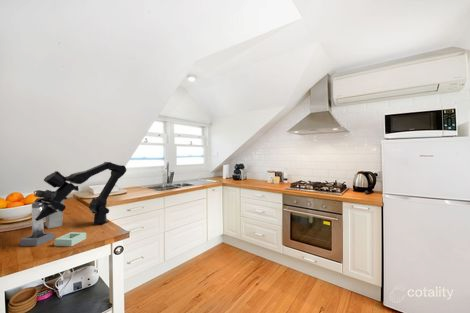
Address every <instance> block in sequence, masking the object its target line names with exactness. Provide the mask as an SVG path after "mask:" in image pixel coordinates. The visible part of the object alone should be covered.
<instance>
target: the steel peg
mask: <svg viewBox="0 0 470 313" xmlns="http://www.w3.org/2000/svg"><path fill="white" fill-rule="evenodd" d="M43 209H44V204H43V202H32V203H31V217H32V219H31V235H32V237H39V236H42V235H44V232H45V230H44V229H45V228H44V227H45V226H44V225H45V223H44V221H45V218H43V219H40V220H38V221H36V220H35V219H36V218H37V217H38V215H39V214H40V213H41V212H42V211H43Z"/></svg>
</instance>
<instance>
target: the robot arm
mask: <svg viewBox="0 0 470 313" xmlns="http://www.w3.org/2000/svg"><path fill="white" fill-rule="evenodd" d="M107 170H109V171H110V177H109V178H108V180H107V182H106V184H105V185H104V187H103V188H102V190H101V192H100V194H99V195H98V196H97V197H96V198H95V197H93V198H92V199H91V201H90V203H89V206H88V209H89V210H90V212H91V213H92V214H94V216H93V223H91V225H93V226H102V225H105V224H107V223H108V222H109V220H107V214H109V213H110V209H109V208H107V207H106V206H107V201H108V197H109V196H110V194H111V192H112V191H113V190H114V188H115V186H116V185H117V182H118V180H119V179H121V178H122V177H123V176H124V175H125V174H126V172H127V167H126V166H125V165H122V164H116V163H113V162H111V161H104V162H103V163H101V164H98V165H95V166H94V167H91V168H89V169H86V170H84V171H78V172H74V173H71V174H69V176H68V175H66V176H64V175H63V174H61V173H60V171H58V170H56V171H54V172H52V173H50V174H48V175H47V176H45V177H44V179H43V182H45V183H46V184H48V186H51V187H52V188H57V189H56V190H51V189H50V190H49V189H46V190H45V191H43V190H41V189H39V190H38V189H37V190H36V192H35V194H34V196H33V197H35V198H36V199H35V200H33V203H35V202H43V204H44V209H43V211H42V212H41V213H40V214H39V215H38V217H37V218H36V219H35V220H36V221H38V220H40V219H43V218H44V219H46V217H47V216H49V215H51V214H53V213H55V212H58V211H56V210H57V209H58V210H59V211H61V212H63V213H64V211H65V210H66V205H63V204H61V202H62V201H63V200H64V201H65V200H67V199H68V196H69V195H70V194H71V193H72V192H73V191H75V192H76V191H77V192H79V190H80V189H79V185H81V184H83V183H85V182H87V181H88V180H89V179H90V178H91V177H93V176H95V175H97V174H99V173H101V172H105V171H107ZM30 219H31V220H32V216H31V217H30Z"/></svg>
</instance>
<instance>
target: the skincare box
mask: <svg viewBox="0 0 470 313" xmlns="http://www.w3.org/2000/svg"><path fill="white" fill-rule="evenodd" d="M64 202H65V199H64V200H63V201H62V202H61V204H63V205H64V204H65V203H64ZM56 211H58V212H55V213H53V214H51V215H49V216H47V217H45V220H44V221H45V223H44V225H45V226H44V227H46V228H47V229H49V230H50V229H53V228H58V227H62V226H63V216H64V211H63V212H61V211H59V210H58V209H57V210H56Z"/></svg>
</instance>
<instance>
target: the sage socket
mask: <svg viewBox="0 0 470 313" xmlns="http://www.w3.org/2000/svg"><path fill="white" fill-rule="evenodd" d="M86 239H87V232H75V231H72V232H71V231H70V232H68V233H66V234H63V235H61V236H59V237H57V238H54V239H53V240H54V242H53V243H54V244H53V245H54V246H55V247H57V246H58V247H73V246H76V245H77V244H79V243H80V242H83V241H84V240H86Z"/></svg>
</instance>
